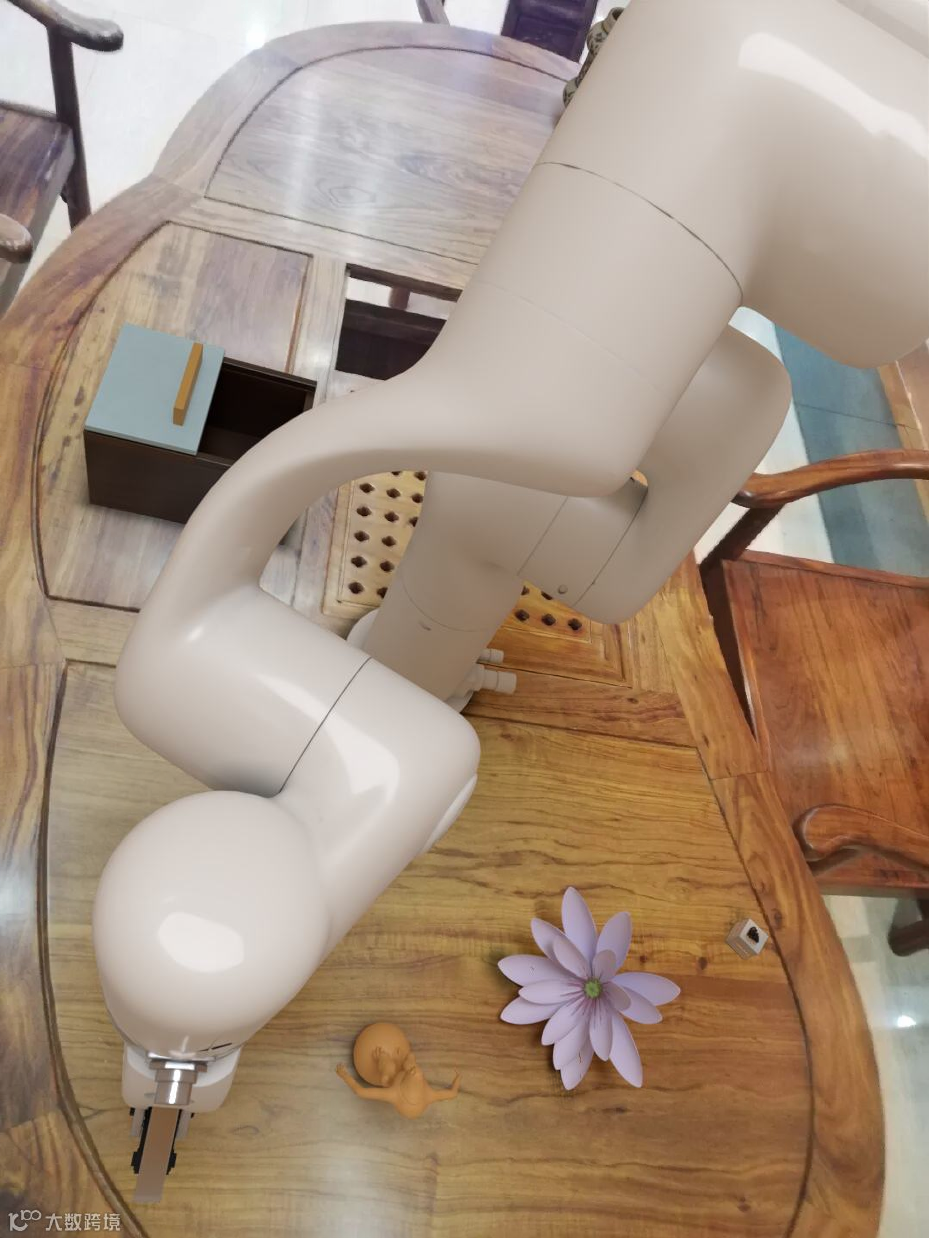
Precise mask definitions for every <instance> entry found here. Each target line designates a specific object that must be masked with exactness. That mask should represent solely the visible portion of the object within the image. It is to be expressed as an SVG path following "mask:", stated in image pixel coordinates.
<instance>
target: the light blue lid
mask: <svg viewBox="0 0 929 1238" xmlns="http://www.w3.org/2000/svg"><path fill="white" fill-rule="evenodd" d="M225 355H226V348H222V347H220V346H217V345H213V344H208V343H204V342H200V341H197V340H194V339H190V338H186V337H182V336H179V335H175V334H171V333H167V332H164V331H160V330H156V329H153V328H149V327H145V326H141V325H137V324H133V323H130V322H125V321H124V322H123V324H122V327H121V329H120V332H119V334H118V336H117V340H116V342H115V345H114V347H113V350H112V352H111V355H110V358H109V360H108V362H107V365H106V368H105V370H104V373H103V375H102V378H101V381H100V384H99V386H98V387H97V388H98V389H97V391H96V393H95V396H94V399H93V402H92V404H91V406H90V408H89V409H90V410H89V412H88V414H87V417H86V419H85V422H84V428H85V429H86V430H90V431H94V432H98V433H103V434H107V435H111V436H115V437H120V438H124V439H128V440H132V441H137V442H141V443H145V444H149V445H154V446H158V447H162V448H166V449H171V450H175V451H179V452H183V453H187V454H192V455H196V454H197V451H198V447H199V444H200V440H201V437H202V433H203V430H204V426H205V422H206V419H207V415H208V412H209V408H210V405H211V401H212V398H213V394H214V390H215V387H216V383H217V380H218V376H219V373H220V369H221V365H222V362H223V358H224V357H225Z"/></svg>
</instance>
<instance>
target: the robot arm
mask: <svg viewBox="0 0 929 1238" xmlns="http://www.w3.org/2000/svg"><path fill="white" fill-rule="evenodd" d="M624 8H625V9H624V11H623V12H622V14H621V15H620V16H619V18H618V19H617V21H616V23H615V24H614V26H613V28H612V30H611V31H610V33H609V35H608V36H607V38H606V40H605V41H604V43H603V45H602V47H601V48H600V50H599V52H598V54H597V55H596V57H595V59H594V61H593V62H592V64H591V66H590V68H589V69H588V71H587V73H586V75H585V76H584V78H583V80H582V82H581V83H580V85H579V87H578V89H577V90H576V92H575V94H574V96H573V97H572V99H571V101H570V103H569V104H568V106H567V108H565V110H564V112H563V113H562V115H561V117H560V119H559V120H558V122H557V124H556V125H555V128H553V131H552V133H551V134H550V136H549V137H548V140H547V142H546V143H545V145H544V146H543V149H542V150H541V151H540V153H539V155H538V157H537V159H536V161H535V162H534V164H533V166H532V168H531V170H530V172H529V173H528V175H527V177H526V178H525V180H524V182H523V184H522V186H521V187H520V190H519V191H518V193H517V195H516V196H515V198H514V200H513V202H512V204H511V205H510V207H509V209H508V210H507V212H506V214H505V216H504V217H503V220H502V221H501V223H500V224H499V226H498V228H497V229H496V231H495V233H494V235H493V236H492V239H491V240H490V242H489V244H488V246H487V248H486V249H485V251H484V253H483V255H482V256H481V258H480V259H479V261H478V263H477V265H476V266H475V269H474V270H473V272H472V274H471V276H470V278H469V279H468V281H467V282H466V284H465V285H464V288H463V290H462V291H461V293H460V295H459V297H458V299H457V301H456V302H455V305H454V306H453V308H452V310H451V312H450V314H449V315H448V317H447V319H446V321H445V322H444V325H443V326H442V328H441V329H440V332H439V333H438V335H437V336H436V338H435V340H434V341H433V343H432V344H431V346H430V347H429V348H428V350H427V351H426V352H425V353H424V355H423V356H422V357H421V358H420V359H419V360H418V361H417V362H416V363H415V364H413V365H412V366H411V367H410V368H408V369H407V370H405V371H404V372H402V373H399V374H397V375H395V376H393V377H390V378H388V379H386V380H383V381H381V382H378V383H375V384H373V385H369V386H366V387H363V388H360V389H358V390H357V389H356V390H355V391H354V390H353V391H352V392H349V393H347V394H344V395H340V396H339V397H336V398H335V397H334V398H333V399H330V400H327V401H325V402H323V403H321V404H318V405H316V406H313V408H312V409H310V410H308V411H306V412H304V413H302V414H300V415H299V416H297V417H295V418H293V419H292V420H290V421H289V422H287V423H286V424H284V425H283V426H281V427H279V428H278V429H276V430H275V431H273V432H271V433H270V434H269V435H268V436H266V437H265V438H264V439H262V440H261V441H260V442H259V443H257V444H256V445H255V446H254V447H252V448H251V449H250V450H248V451H247V452H246V453H245V454H244V455H243V456H242V457H241V458H240V459H239V460H238V461H237V462H236V463H235V464H234V465H233V466H232V467H231V468H229V469H228V470H227V471H226V472H225V473H224V474H223V476H222V477H221V478H220V479H219V480H218V481H217V483H216V484H215V485H214V486H213V487H212V488H211V489H210V490H209V492H208V493H207V494H206V496H205V497H204V498H203V500H202V501H201V503H200V504H199V505H198V507H197V508H196V509H195V511H194V512H193V514H192V515H191V517H190V518H189V520H188V522H187V524H185V525H184V528H183V529H182V530H181V532H180V534H179V536H178V538H177V540H176V541H175V544H174V545H173V547H172V549H171V551H170V553H169V555H168V556H167V559H166V561H165V563H164V564H163V566H162V568H161V569H160V572H159V574H158V576H157V578H156V579H155V581H154V583H153V584H152V587H151V589H150V591H149V592H148V593H147V596H146V597H145V599H144V602H143V603H142V606H141V607H140V609H139V611H138V613H137V615H136V618H134V619H135V620H134V621H133V624H132V625H131V627H130V630H129V632H128V634H127V637H126V639H125V642H124V644H123V646H122V648H121V651H120V654H119V656H118V659H117V663H116V666H115V672H114V677H113V686H112V687H113V688H112V690H113V691H112V694H113V695H112V697H113V703H114V708H115V710H116V713H117V716H118V718H119V720H120V721H121V723H122V724H123V726H124V727H125V728H126V731H128V732H129V733H130V735H131V736H132V737H134V738H135V739H136V740H137V741H138V742H139V743H141V745H143V746H145V747H147V748H148V749H149V750H151V751H152V752H153V753H155V754H157V755H158V756H159V757H161V758H162V759H164V760H165V761H166V762H168V763H170V764H172V765H173V766H174V767H176V768H178V769H179V770H180V771H183V773H185V774H187V775H189V776H190V777H192V778H193V779H195V780H197V781H198V782H200V783H201V784H202V785H204V786H206V787H208V788H210V789H211V790H209V791H204V792H198V793H193V794H189V795H187V796H184V797H180V798H178V799H175V800H172V801H170V802H169V803H167V804H165V805H163V806H161V807H159V808H157V809H155V810H154V811H153V812H151V813H150V814H149V815H147V816H145V818H143V819H142V820H140V821H139V823H137V824H136V825H135V826H134V827H132V829H131V830H130V831H129V832H128V833H127V834H126V835H125V836H124V837H123V838H122V839H121V841H119V843H118V844H117V845H116V847H115V848H114V850H113V852H112V853H111V855H110V857H108V860H107V862H106V863H105V866H104V868H103V870H102V872H101V875H100V877H99V880H98V883H97V886H96V889H95V890H96V891H95V894H94V898H93V904H92V912H91V913H92V914H91V941H92V946H93V951H94V957H95V962H96V963H95V964H96V966H97V968H96V969H97V973H98V977H99V982H100V983H99V984H100V987H101V994H102V998H103V1003H104V1006H105V1007H104V1008H105V1010H106V1013H107V1016H108V1019H109V1022H110V1023H111V1025H112V1027H113V1030H114V1031H115V1032H116V1033H117V1035H118V1036H119V1037H120V1038H121V1040H122V1041H123V1042H124V1044H123V1045H124V1046H123V1054H122V1072H121V1074H122V1075H121V1097H122V1099H123V1101H124V1103H125V1104H126V1105H127V1106H129V1107H130V1109H129V1114H128V1115H129V1117H133V1118H132V1122H131V1127H130V1132H129V1138H140V1140H139V1145H138V1147H137V1149H136V1150H135V1151H133V1152H132V1158H131V1162H130V1167H133V1169H132V1171H133V1175H137V1178H136V1183H135V1188H134V1195H133V1199H132V1202H133V1203H161V1200H162V1196H163V1190H164V1187H165V1181H166V1177H167V1176H169V1175H170V1172H171V1170H172V1169H175V1167H176V1162H177V1156H178V1153H177V1152H175V1143H176V1140H186V1138H187V1135H188V1130H189V1126H190V1121H191V1119H193V1118H194V1117H195V1113H196V1114H197V1113H198V1114H199V1113H202V1114H203V1113H213V1112H215V1111H217V1110H218V1109H219V1108H220V1107H221V1106H222V1104H224V1102H225V1100H226V1098H227V1096H228V1094H229V1092H230V1091H231V1090H230V1089H231V1087H232V1084H233V1081H234V1078H235V1075H236V1072H237V1069H238V1065H239V1062H240V1057H241V1055H242V1050H243V1046H244V1045H245V1044H246V1043H247V1042H249V1041H250V1040H251V1039H252V1038H253V1037H254V1036H255V1035H256V1034H257V1033H259V1031H261V1029H262V1028H263V1027H264V1026H265V1025H266V1024H267V1023H269V1021H271V1020H272V1019H273V1018H274V1017H275V1016H277V1014H279V1012H280V1011H282V1010H283V1008H285V1007H286V1006H287V1005H288V1004H289V1003H290V1002H291V1001H292V1000H293V999H294V998H295V997H296V996H297V994H299V993H300V991H301V990H302V989H303V988H304V986H305V985H306V984H307V982H308V981H309V980H310V978H311V977H312V976H313V974H314V973H315V972H316V971H317V970H318V969H319V967H320V966H321V965H322V963H324V961H325V960H326V959H327V958H328V956H329V955H330V954H331V953H332V952H333V951H334V950H335V948H336V947H337V946H338V945H339V944H340V942H341V941H342V940H343V939H344V938H345V937H346V935H347V934H348V933H349V932H350V931H351V929H352V928H353V927H354V926H355V925H356V923H357V922H358V921H359V920H360V919H361V918H362V916H364V914H365V913H366V912H367V911H368V910H369V909H370V908H371V907H372V905H373V904H374V903H375V902H376V901H377V900H378V898H380V896H381V895H382V894H383V893H384V892H385V891H386V890H387V888H389V887H390V885H391V884H392V883H393V882H394V881H395V880H396V878H397V877H399V875H400V874H402V872H403V871H404V870H405V869H406V868H407V866H408V865H409V864H410V863H411V862H412V861H413V860H415V859H419V858H420V857H422V856H424V855H425V854H427V852H429V851H430V850H431V849H432V848H433V847H434V846H435V845H436V844H437V843H438V842H439V841H440V840H441V839H443V837H445V835H446V834H447V833H448V830H449V829H451V827H452V826H453V825H454V824H455V823H456V821H457V819H459V817H460V815H461V813H462V812H463V810H464V809H465V807H466V805H467V804H468V802H469V801H470V799H471V797H472V794H473V793H474V791H475V788H476V785H477V783H478V773H477V772H478V768H479V766H480V761H481V755H482V751H481V750H482V749H481V742H480V738H479V736H478V734H477V732H476V730H475V729H474V727H473V725H472V724H471V723H470V722H469V721H468V719H466V718H465V717H464V716H463V715H462V714H461V712H462V711H463V709H464V708H465V707H466V706H467V704H468V702H469V701H470V699H471V698H472V696H473V694H474V692H479V691H481V689H485V690H490V691H491V690H492V692H496V693H497V692H498V693H503V694H508V695H513V694H514V692H515V690H516V686H517V679H518V678H517V674H516V673H513V672H509V671H503V670H493V669H492V670H491V669H487V668H485V665H484V664H481V663H477V662H479V661H480V662H484V663H485V662H486V663H487V664H491V665H496V666H501V665H502V664H503V660H504V656H505V655H504V654H505V653H504V651H503V650H501V649H495V648H487V647H488V645H489V644H490V643H491V641H492V639H493V638H494V637H495V635H496V634H497V632H498V631H499V630H500V628H501V627H502V626H503V625H504V623H505V621H507V618H508V617H509V616H510V614H511V613H512V611H513V610H514V608H515V607H516V605H517V603H519V601H520V598H521V596H522V594H523V591H524V588H525V583H526V582H527V583H529V584H530V585H532V586H533V587H535V588H536V589H538V590H540V591H541V592H542V593H545V594H546V595H548V596H549V597H551V598H552V599H554V600H556V601H557V602H559V603H561V604H562V605H564V606H565V607H567V608H568V609H571V610H572V611H574V612H575V613H578V614H579V615H581V616H583V617H584V618H587V619H588V620H590V621H593V622H595V623H598V624H601V625H606V626H614V625H620V624H623V623H625V622H627V621H629V620H632V618H634V617H636V615H638V614H639V613H640V612H641V611H642V610H643V609H644V608H645V607H646V606H647V605H648V604H649V603H651V601H652V600H653V599H654V597H655V596H656V595H657V594H658V592H659V591H660V590H661V589H662V588H663V587H664V586H665V584H666V583H667V582H668V581H669V580H670V578H671V577H672V576H673V574H674V573H675V572H676V571H677V569H678V568H679V567H680V565H681V564H682V563H683V562H684V561H685V559H686V558H687V557H688V555H689V554H690V553H691V552H692V550H693V549H694V548H695V547H696V545H697V544H698V543H699V542H700V541H701V539H702V538H703V537H704V535H705V534H706V533H707V532H708V530H709V529H711V527H712V526H713V524H715V522H716V520H717V519H718V518H719V517H720V516H721V514H722V513H723V512H724V511H725V510H726V508H727V507H728V506H729V505H730V503H731V502H732V501H733V499H734V498H735V497H736V496H737V494H738V493H739V492H740V491H741V489H742V488H744V486H745V484H747V482H748V481H749V479H750V478H751V477H752V475H753V474H754V473H755V471H756V470H757V468H758V467H759V465H760V464H761V462H762V461H763V460H764V458H765V457H766V455H767V454H768V452H769V451H770V449H771V448H772V447H773V444H774V443H775V441H776V439H777V437H778V435H779V434H780V431H782V428H783V426H784V423H785V421H786V418H787V416H788V413H789V410H790V407H791V402H792V395H793V392H792V391H793V386H792V379H791V377H790V374H789V371H788V370H787V368H786V366H785V364H784V363H783V362H782V361H781V359H779V358H778V357H777V356H776V355H775V354H774V353H773V352H772V351H771V350H769V349H768V348H767V347H765V346H764V345H762V344H761V343H760V342H759V341H757V340H755V339H754V338H752V337H750V336H749V335H747V334H745V333H744V332H742V331H740V330H739V329H737V328H735V327H734V326H733V325H730V321H731V320H732V318H733V317H734V315H735V314H736V313H737V311H738V309H740V308H746V309H749V310H752V311H754V312H756V313H757V314H759V315H761V316H762V317H764V318H765V319H767V320H768V321H769V322H771V323H773V324H775V325H776V326H778V327H779V328H781V329H783V330H784V331H786V332H787V333H788V334H791V335H792V336H794V337H795V338H797V339H799V340H800V341H802V342H803V343H805V344H807V345H808V346H810V347H811V348H813V349H814V350H816V351H818V352H819V353H821V354H822V355H824V356H826V357H827V358H829V359H830V360H832V361H833V362H836V363H838V364H840V365H843V366H847V367H850V368H854V369H858V370H871V369H876V368H881V367H884V366H887V365H891V364H893V363H895V362H896V361H897V362H898V360H900V359H902V358H904V357H906V356H907V355H909V354H910V353H912V352H913V351H915V350H917V349H918V348H919V347H920V346H922V345H923V344H924V343H925V342H926V341H927V340H928V339H929V0H630V1H629V2H628V4H627V5H626V6H625V7H624ZM636 471H637V472H638V473H640V474H642V475H643V476H644V478H645V480H646V483H647V485H646V484H644V483H643V482H641V481H640V480H638V479H636V478H634V477H633V474H634V473H635V472H636ZM393 472H395V473H396V472H427V473H426V477H425V483H424V489H423V496H422V502H421V507H420V511H419V515H418V518H417V521H416V523H415V526H414V528H413V530H412V532H411V533H412V534H411V536H410V538H409V540H408V543H407V545H406V548H405V549H404V552H403V554H402V556H401V558H400V560H399V563H398V565H397V568H396V569H395V572H394V574H393V577H392V578H391V581H390V583H389V585H388V587H387V590H386V592H385V594H384V597H383V598H382V601H381V603H380V604H379V605H380V606H379V607H378V608H375V609H373V610H371V611H369V612H368V613H366V614H364V616H362V617H361V618H360V619H359V620H358V621H357V622H356V623H355V624H354V625H353V626H352V628H351V630H350V632H349V633H348V636H347V638H346V639H344V638H343V637H341V636H339V635H338V634H336V633H335V632H333V631H331V630H330V629H328V628H326V627H325V626H323V625H322V624H320V623H318V622H317V621H315V620H314V619H312V618H310V617H308V615H307V616H306V614H304V613H302V612H300V611H299V610H298V609H296V608H294V607H292V606H290V604H288V603H286V602H284V601H283V600H281V599H279V598H278V597H276V596H275V595H273V594H271V593H270V592H268V591H266V590H264V588H262V587H261V585H260V580H261V577H262V575H263V573H264V571H265V569H266V566H267V564H268V563H269V560H270V559H271V557H272V556H273V554H274V552H275V550H276V549H277V546H278V545H279V544H278V543H279V542H280V540H281V539H282V538H283V536H284V535H285V534H286V532H287V533H288V531H289V530H290V529H291V527H292V526H293V524H294V523H295V522H296V520H297V519H298V518H299V517H300V516H301V515H302V514H303V513H304V512H305V511H306V510H307V509H309V507H311V506H312V505H313V504H314V503H316V502H317V501H318V500H319V499H321V498H323V497H324V496H325V495H327V494H329V493H330V492H332V491H334V490H336V489H337V488H340V487H342V486H344V485H346V484H348V483H350V482H353V481H356V480H359V479H363V478H365V477H370V476H374V475H379V474H387V473H393ZM286 535H287V534H286Z"/></svg>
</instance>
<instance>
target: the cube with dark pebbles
mask: <svg viewBox="0 0 929 1238" xmlns="http://www.w3.org/2000/svg"><path fill="white" fill-rule="evenodd" d="M741 921H742V922H741ZM740 923H741V924H740ZM739 925H740V926H739ZM737 928H738V929H737ZM736 930H737V931H736ZM734 933H735V935H734ZM733 935H734V936H733ZM732 937H733V938H732ZM731 938H732V939H733V940H734V941H735V942H736V943H737V944H738V945H740V947H742V949H743V950H745V952H747V953H748V955H750V956H751V957H749V956H748V955H747V954H746V953H745V952H744V951H743V950H742V949H741V948H740V947H739V946H738V945H737V944H736V943H735V942H734V941H733V940H732V939H731ZM768 938H769V935H768V934H767V933H766V932H765V931H764V930H763V929H761V928H760V927H759V925H757V924H756V923H755V922H754V921H753V920H752V918H747V919H743V920H740V921H737V922H735V923H734V925H733V926H732V928H731V929H730V931H729V933H728V935H727V937H726V938H725V940H724V942H725V943H726V944H727V945H728V946H729V947H730V948H731V949H732V950H733V951H734V952H735V953H736V954H738V956H740V957H741V958H742V959H743V960H744V959H745V960H746V959H748V958H752V957H755V956H758V955H760V953H761V951H762V949H763V947H764V946H765V943H766V942H767V940H768Z"/></svg>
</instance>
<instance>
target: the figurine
mask: <svg viewBox="0 0 929 1238" xmlns="http://www.w3.org/2000/svg"><path fill="white" fill-rule="evenodd" d="M352 1055H353V1063H354V1066H355V1069H356V1071H357V1073H358V1074H359V1076H360V1077H361V1078H362V1079H363V1080H364V1081H366V1082H367V1083H369V1084H372V1085H374V1086H382V1087H363V1086H362V1085H361V1084H360V1083H358V1082H357V1081H356V1080H355V1078H354V1077H352V1075H350V1074H348V1073H347V1072H346V1067H347V1063H346V1062H345V1063H344V1065H342V1062H341V1061H340V1062H339V1065H338V1064H337V1065H336V1069H335V1070H334V1071H335V1074H336V1075H337V1076H338V1077H340V1078H342V1080H343V1081H344V1083H345V1084H346V1085H347V1086H348V1087H349V1088H350V1089H351V1090H352V1091H353V1093H354V1094H355V1095H356V1096H357V1097H359V1098H364V1099H370V1100H377V1101H378V1100H379V1101H384V1102H387V1103H390V1104H392V1106H393V1108H394V1109H395V1110H396V1112H397V1113H398V1114H399V1115H400V1116H401V1117H403V1118H405V1119H407V1120H408V1119H409V1120H413V1119H416V1118H419V1117H420V1116H421V1115H422V1114H423V1113H424V1112H425V1111H426V1109H427V1107H428V1106H429V1105H430V1104H434V1103H436V1102H442V1101H449V1100H453V1099H456V1098H457V1096H458V1093H459V1088H460V1085H461V1083H462V1078H463V1077H462V1073H461V1071H460V1068H459V1067H458V1066H457V1065H454V1066H453V1070H454V1071H455V1073H456V1076H455V1078H454V1079H453V1080H452V1085H451V1087H450V1089H448V1088H437V1089H436V1088H433V1087H432V1086H431V1085H430V1084H429V1082H428V1080H427V1079H426V1078H425V1076H424V1072H423V1071H422V1070H423V1069H422V1068H421V1067H419V1065H418V1063H417V1060H416V1054H415V1053H414V1052H413V1051H411V1046H410V1042H409V1039H408V1037H407V1035H406V1034H405V1032H404V1030H403V1029H401V1028H400V1027H399V1026H398V1025H396V1024H394V1023H392V1022H388V1021H379V1022H374V1023H372V1024H370V1025H368V1026H367V1027H365V1029H363V1030H362V1031H361V1032H360V1034H359V1035H358V1037H357V1038H356V1041H355V1043H354V1047H353V1054H352Z"/></svg>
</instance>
